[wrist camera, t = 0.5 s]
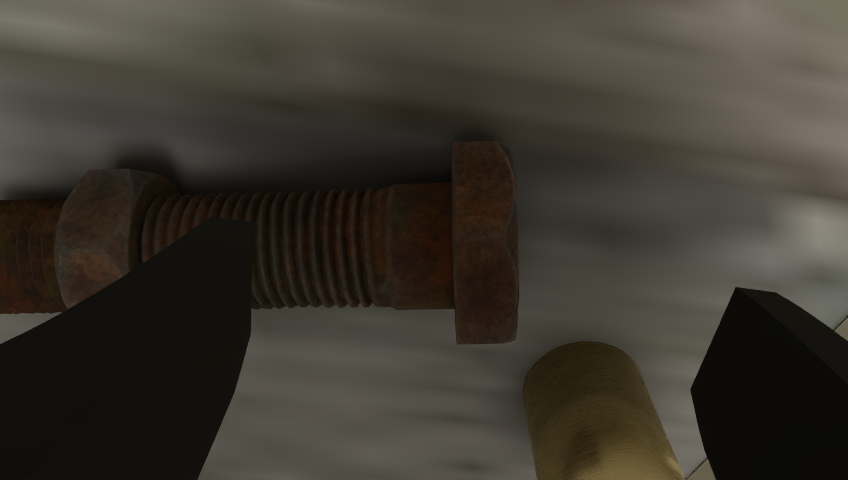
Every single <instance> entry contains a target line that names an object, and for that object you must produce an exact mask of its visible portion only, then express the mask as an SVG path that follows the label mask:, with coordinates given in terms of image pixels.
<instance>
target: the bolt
mask: <svg viewBox="0 0 848 480" xmlns="http://www.w3.org/2000/svg"><path fill="white" fill-rule="evenodd" d="M451 144H452V182H447V183H419V184H393V185H392V186H390V187H389V188H380V189H379V190H377V191H374V190H373V189H367V191H366V192H365V194H364V195H363V194H362V192H361V190H360V189H355V190H354V192H353V194H352V195H351V194H350V192H349V191H348V189H343V190H342V192H341V193H340V195H339V194H338V192H337V191H336V190H335V189H332V190H331V191H330V192H329V193H328V194H326V193H325V191H322V190H318V191H317V193H316V194H314V193H313V192H312V191H310V190H307V191H306V192H304V193H303V194H302V193H301V192H300V191H294V192H292V193H290V194H289V193H288V192H286V191H282V192H280V193H278V194H277V193H276V192H272V191H271V192H269V193H267V194H266V195H265V194H264V193H261V192H256V194H255V195H254V196H253V194H252V193H249V192H246V193H244V194H242V195H240V194H238V193H237V192H235V193H232V194H230V196H229V195H228V194H223V193H220V194H219V195H218V196H217V195H215V194H208V195H207V196H204V195H203V194H197V195H195V196H192V195H190V194H185V195H183V196H182V197H181V194H180V192H179V191H178V189H177V188H176V187H175V185H174V184H173V183H172V182H171V181H170V180H169V179H168V178H166V177H164V176H163V175H159V174H155V173H151V172H146V171H140V170H134V169H107V170H89V171H88V172H87V173H86V174H85V175H84V176H83V178H82V179H81V180H80V181H79V182H78V183H77V185H76V186H75V187H74V189H73V190H72V192H71V193H70V195H69V196H68V198H67V199H59V198H53V199H42V200H38V199H31V200H23V199H21V200H17V201H15V200H0V314H3V313H5V314H12V313H14V314H19V313H47V312H48V313H55V312H64V311H66V310H68V309H69V308H71V307H73V306H74V305H76V304H78V303H79V302H81V301H83V300H84V299H86V298H88V297H90V296H91V295H93V294H95V293H96V292H98V291H100V290H101V289H103V288H105V287H106V286H108V285H110V284H111V283H113V282H115V281H117V280H118V279H120V278H121V277H123V276H124V275H126V274H127V273H129V272H130V271H132V270H133V269H135V268H136V267H138V266H139V265H141V264H142V263H144V262H145V261H147V260H148V259H150V258H151V257H153V256H154V255H156V254H157V253H159V252H160V251H162V250H163V249H165V248H166V247H168V246H169V245H170V244H172V243H173V242H175V241H176V240H178V239H179V238H180V237H182V236H183V235H185V234H186V233H188V232H189V231H190V230H192V229H193V228H195V227H196V226H198V225H199V224H201V223H202V222H204V221H205V220H207V219H208V218H210V217H219V218H226V219H233V220H241V221H248V222H254V224H253V263H252V302H251V308H253V309H260V308H261V307H262V308H267V309H272V308H273V307H275V308H279V309H281V308H283V307H285V306H288V307H289V308H293V307H295V306H297V305H299V306H300V307H306V306H308V305H310V304H311V306H313V307H319V306H320V305H322V304H323V305H324V306H325V307H327V308H330V307H332V306H334V305H335V303H336V305H337V306H338V307H339V308H343V307H345V306H346V305H347V304H349V305H350V306H351V307H358V305H359V303H361V304H362V305H363V306H364V307H369V306H370V305H371V304H372V302H373V304H374V305H375V306H377V307H392V308H394V309H397V310H414V309H455V325H456V342H457V344H497V343H507V342H511V341H514V340H515V338H516V331H517V320H518V300H519V270H518V235H517V213H516V184H515V176H514V168H513V160H512V156H511V153H510V150H509V148H508V147H507V146H506V145H505V144H502V143H500V142H498V141H469V142H452V143H451Z"/></svg>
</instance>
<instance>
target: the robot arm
mask: <svg viewBox="0 0 848 480" xmlns="http://www.w3.org/2000/svg"><path fill="white" fill-rule="evenodd" d="M253 224H254V222H248V221H241V220H233V219H226V218H219V217H210V218H208V219H207V220H205V221H204V222H202V223H201V224H199V225H198V226H196V227H195V228H193V229H192V230H190V231H189V232H188V233H186V234H185V235H183V236H182V237H180V238H179V239H178V240H176V241H175V242H173V243H172V244H170V245H169V246H168V247H166V248H165V249H163V250H162V251H160V252H159V253H157V254H156V255H154V256H153V257H151V258H150V259H148V260H147V261H145V262H144V263H142V264H141V265H139V266H138V267H136V268H135V269H133V270H132V271H130V272H129V273H127V274H126V275H124V276H123V277H121V278H120V279H118V280H117V281H115V282H113V283H111V284H110V285H108V286H106V287H105V288H103V289H101V290H100V291H98V292H96V293H95V294H93V295H91V296H90V297H88V298H86V299H84V300H83V301H81V302H79V303H78V304H76V305H74V306H73V307H71V308H69V309H68V310H66V311H64V312H62V313H61V314H59V315H57V316H55V317H53V318H52V319H50V320H48V321H46V322H44V323H42V324H40V325H38V326H36V327H34V328H32V329H31V330H29V331H27V332H25V333H23V334H21V335H18V336H16V337H14V338H12V339H10V340H8V341H6V342H4V343H2V344H0V480H197V479H198V477H199V474H200V472H201V470H202V467H203V465H204V463H205V460H206V458H207V456H208V453H209V451H210V449H211V446H212V444H213V442H214V439H215V437H216V435H217V432H218V430H219V428H220V425H221V423H222V420H223V418H224V416H225V413H226V411H227V409H228V406H229V404H230V401H231V399H232V397H233V394H234V392H235V388H236V385H237V381H238V378H239V374H240V371H241V367H242V364H243V360H244V357H245V353H246V349H247V346H248V342H249V338H250V334H251V302H252V263H253ZM690 390H691V395H692V399H693V404H694V409H695V414H696V418H697V423H698V427H699V431H700V435H701V439H702V443H703V446H704V450H705V453H706V455H707V458H708V461H709V463H710V466H711V469H712V471H713V474H714V476H715V479H716V480H848V341H847V340H846V339H845V338H843V337H842V336H840V335H839V334H838V333H836V332H835V331H833V330H832V329H831V328H829V327H828V326H826V325H825V324H824V323H822V322H821V321H819V320H818V319H816V318H815V317H814V316H812V315H811V314H809V313H808V312H806V311H805V310H803V309H802V308H800V307H799V306H797V305H796V304H794V303H793V302H791V301H789V300H788V299H786V298H784V297H782V296H781V295H779V294H777V293H775V292H768V291H761V290H754V289H746V288H739V287H736V288H735V290H734V292H733V295H732V297H731V299H730V301H729V304H728V306H727V308H726V310H725V313H724V315H723V317H722V319H721V322H720V324H719V326H718V328H717V331H716V333H715V335H714V337H713V340H712V342H711V344H710V346H709V349H708V351H707V353H706V355H705V358H704V360H703V362H702V364H701V367H700V369H699V371H698V373H697V376H696V378H695V380H694V382H693V385H692V387H691V389H690Z"/></svg>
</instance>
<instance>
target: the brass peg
mask: <svg viewBox="0 0 848 480" xmlns="http://www.w3.org/2000/svg"><path fill="white" fill-rule="evenodd" d="M523 400H524V405H525V411H526V417H527V423H528V429H529V435H530V440H531V446H532V452H533V458H534V464H535V470H536V475H537V480H685V478H684V476H683V474H682V471H681V469H680V466H679V464H678V462H677V459H676V457H675V455H674V452H673V450H672V447H671V445H670V443H669V440H668V438H667V436H666V433H665V431H664V428H663V426H662V424H661V421H660V419H659V417H658V414H657V412H656V409H655V407H654V405H653V402H652V400H651V398H650V395H649V393H648V390H647V388H646V386H645V383H644V381H643V378H642V376H641V374H640V371H639V369H638V367H637V366H636V364H635V363H634V361H633V360H632V359H631V358H630V357H629V356H628V355H627V354H625V353H624V352H622V351H621V350H619V349H617V348H615V347H613V346H610V345H607V344H603V343H597V342H578V343H572V344H568V345H564V346H562V347H559V348H557V349H555V350H553V351H551V352H549V353H548V354H546V355H545V356H543V357H542V358H541V359H540V360H539V361H538V362H537V363H536V364H535V365H534V366H533V367H532V369H531V370H530V372H529V373H528V375H527V377H526V380H525V383H524V388H523Z"/></svg>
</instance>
